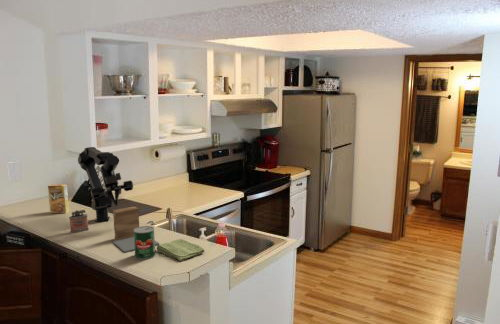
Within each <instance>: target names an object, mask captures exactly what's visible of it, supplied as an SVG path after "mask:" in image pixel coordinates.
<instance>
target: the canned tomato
mask: <svg viewBox="0 0 500 324" xmlns="http://www.w3.org/2000/svg"><path fill="white" fill-rule="evenodd" d="M155 241H156V240H155V227H153V226H151V225H150V226H149V225H145V226H139V227H138V228H135V229H134V245H135V251H134V258H135V259H137V260H143V261H144V259H145V260H150V259H153V258H154V257H155V256H156V246H155Z"/></svg>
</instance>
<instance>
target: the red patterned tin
mask: <svg viewBox="0 0 500 324" xmlns="http://www.w3.org/2000/svg"><path fill="white" fill-rule="evenodd" d="M68 219H69V225H70V227H69V228H70V234H77V233H83V232H87V231H89V226H88V225H89V223H88V214H87V213H86V209H81V210H78V209H77V210H74V211H72V212H71V216H69V217H68Z"/></svg>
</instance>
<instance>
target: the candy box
mask: <svg viewBox="0 0 500 324" xmlns="http://www.w3.org/2000/svg"><path fill="white" fill-rule="evenodd" d="M47 189H48V191H47V193H48V201H49V212H50V214H67V213H69V212H70V205H69V195H68V194H69V193H68V184H67V183H64V184H61V183H59V184H58V183H55V184H53V183H52V184H48V185H47Z"/></svg>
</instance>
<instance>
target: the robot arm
mask: <svg viewBox="0 0 500 324" xmlns="http://www.w3.org/2000/svg"><path fill="white" fill-rule="evenodd" d="M119 162H120V159H119V158H118V156H116V155H114V154H113V152H112V153H111V152H109V151H105V152H104V151H101V150H100V149H97V148H96V147H95V146H90V147H89V146H88V147H85V148H84V150H82V151H81V153H79V154H78V158H77V164H79V167H80V168H81V169H83V171H85V172H86V174H87V177H88V180H89V183H90V187H92V188H91V189H90V193H91V198H92V201H91V205H90V206H91V209H92V210H94V211H95V216H96V218H95V220H94V222H95V223H97V222H99V223H101V222H109V220H110V218H111V217H110V216H109V211H108V209H109V208H110V209H111V208H112V206H113V205H112V204H114V206H115V207H117V206H118V204H119V203H118V202H119V196H120V195H121V194H122V190H124V191H125V192H128V191H132V190H133V189H134V182H133V181H132V180H125V181H123V182H122V184H119V182H118V181H121V180H122V177H121V172H118V173H115V171H116V169H117V167H118V165H119V164H120V163H119ZM96 165H97V166H100V171H99V172H100V173H101V176H102V179H103V181H101V180H100V177H99V174H98V171H97V169H96ZM102 182H103V183H104V187H103V184H102ZM113 192H114V194H113Z"/></svg>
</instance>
